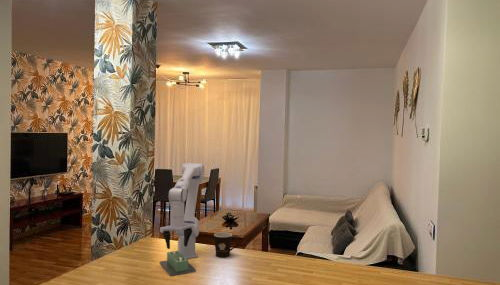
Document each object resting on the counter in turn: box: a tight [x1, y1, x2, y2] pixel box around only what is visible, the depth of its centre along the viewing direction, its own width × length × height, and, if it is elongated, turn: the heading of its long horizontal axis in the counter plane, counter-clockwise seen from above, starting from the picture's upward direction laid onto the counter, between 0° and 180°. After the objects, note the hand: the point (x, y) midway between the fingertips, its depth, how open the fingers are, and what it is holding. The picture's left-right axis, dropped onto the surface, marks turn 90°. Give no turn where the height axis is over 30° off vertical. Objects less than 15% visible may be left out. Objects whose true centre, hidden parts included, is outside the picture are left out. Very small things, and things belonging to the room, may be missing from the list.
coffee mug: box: [213, 231, 241, 259], centre depth 185 cm, size 12×9×10 cm
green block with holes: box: [166, 250, 189, 272], centre depth 169 cm, size 14×5×4 cm, turn 28°
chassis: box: [159, 250, 197, 277], centre depth 169 cm, size 16×11×6 cm
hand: (177, 247), depth 169 cm, fingers open, 7 cm apart
